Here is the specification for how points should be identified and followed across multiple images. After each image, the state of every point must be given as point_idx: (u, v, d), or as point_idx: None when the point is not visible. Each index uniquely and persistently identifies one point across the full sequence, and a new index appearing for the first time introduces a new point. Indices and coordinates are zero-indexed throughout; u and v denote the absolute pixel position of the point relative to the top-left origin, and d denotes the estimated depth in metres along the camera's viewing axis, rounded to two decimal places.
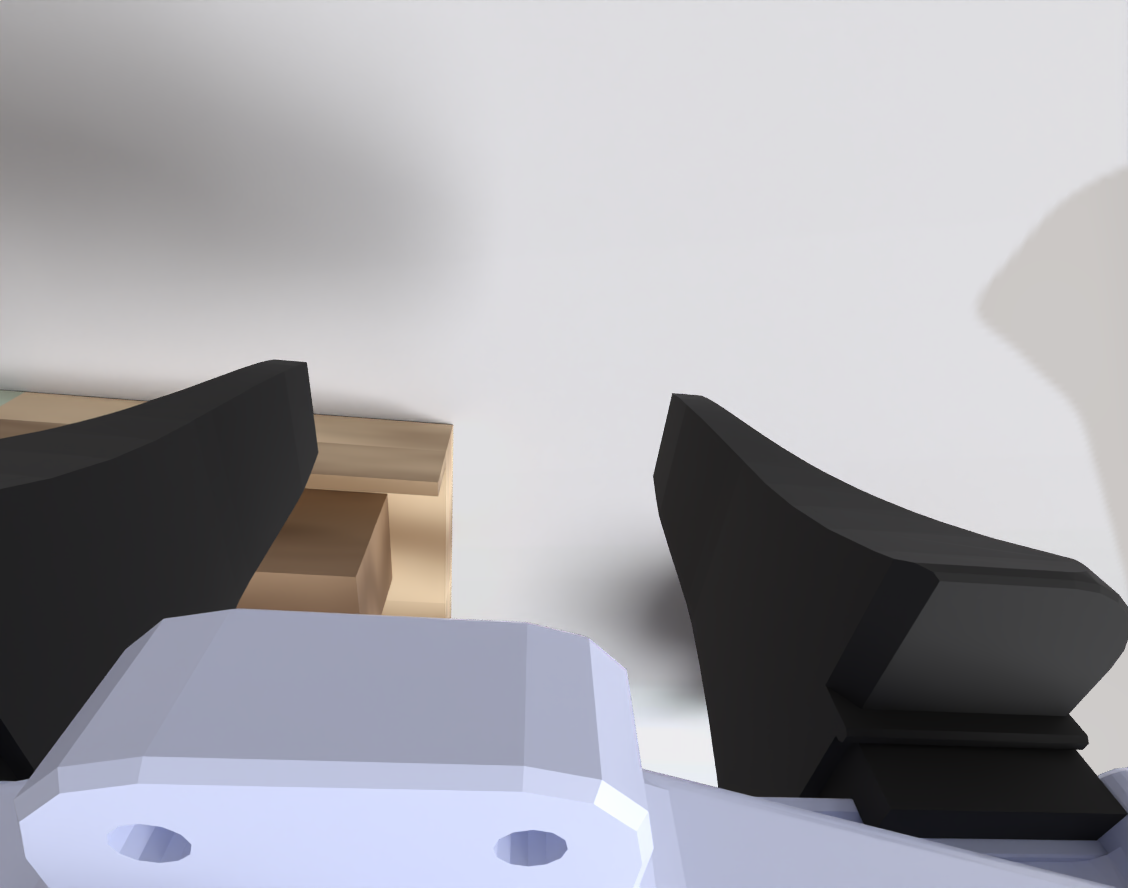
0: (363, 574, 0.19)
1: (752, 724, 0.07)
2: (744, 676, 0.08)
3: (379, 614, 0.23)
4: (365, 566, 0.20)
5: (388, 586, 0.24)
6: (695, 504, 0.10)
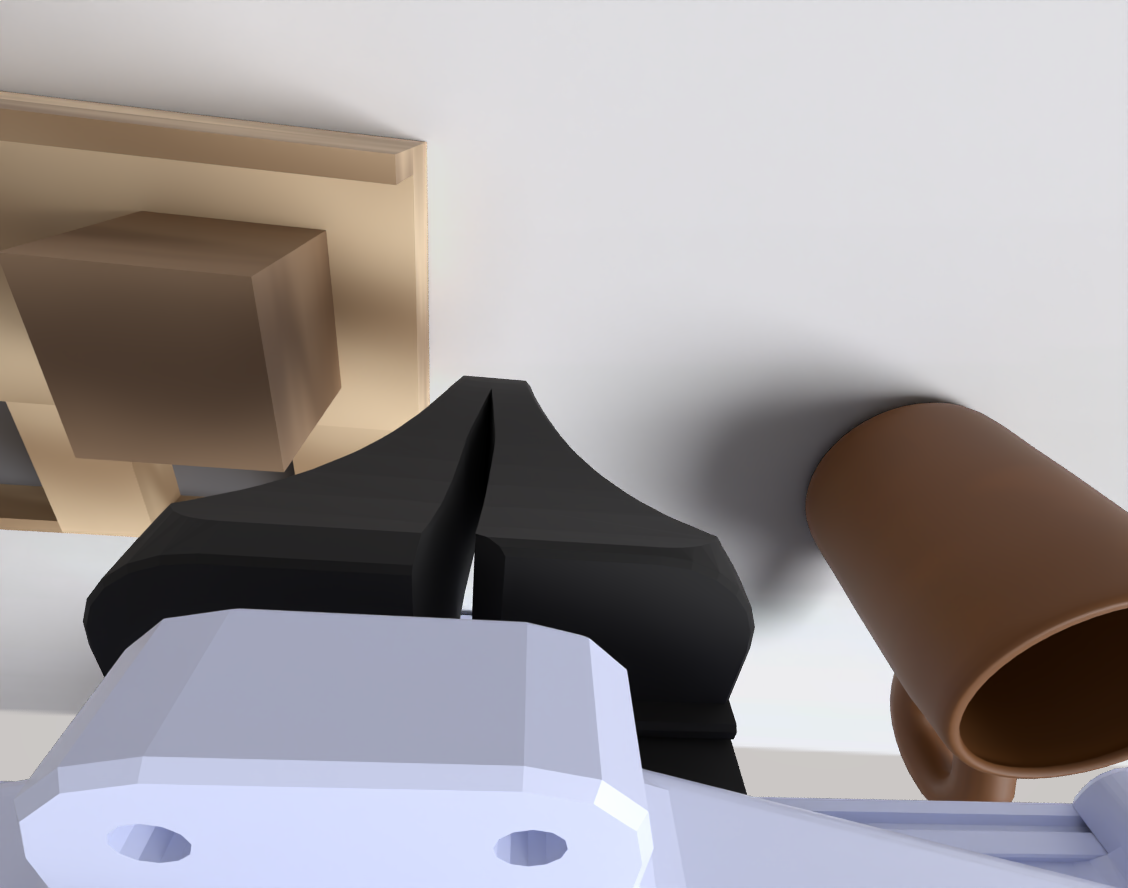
0: (272, 297, 0.12)
1: None
2: None
3: (314, 415, 0.15)
4: (277, 289, 0.12)
5: (333, 390, 0.16)
6: None
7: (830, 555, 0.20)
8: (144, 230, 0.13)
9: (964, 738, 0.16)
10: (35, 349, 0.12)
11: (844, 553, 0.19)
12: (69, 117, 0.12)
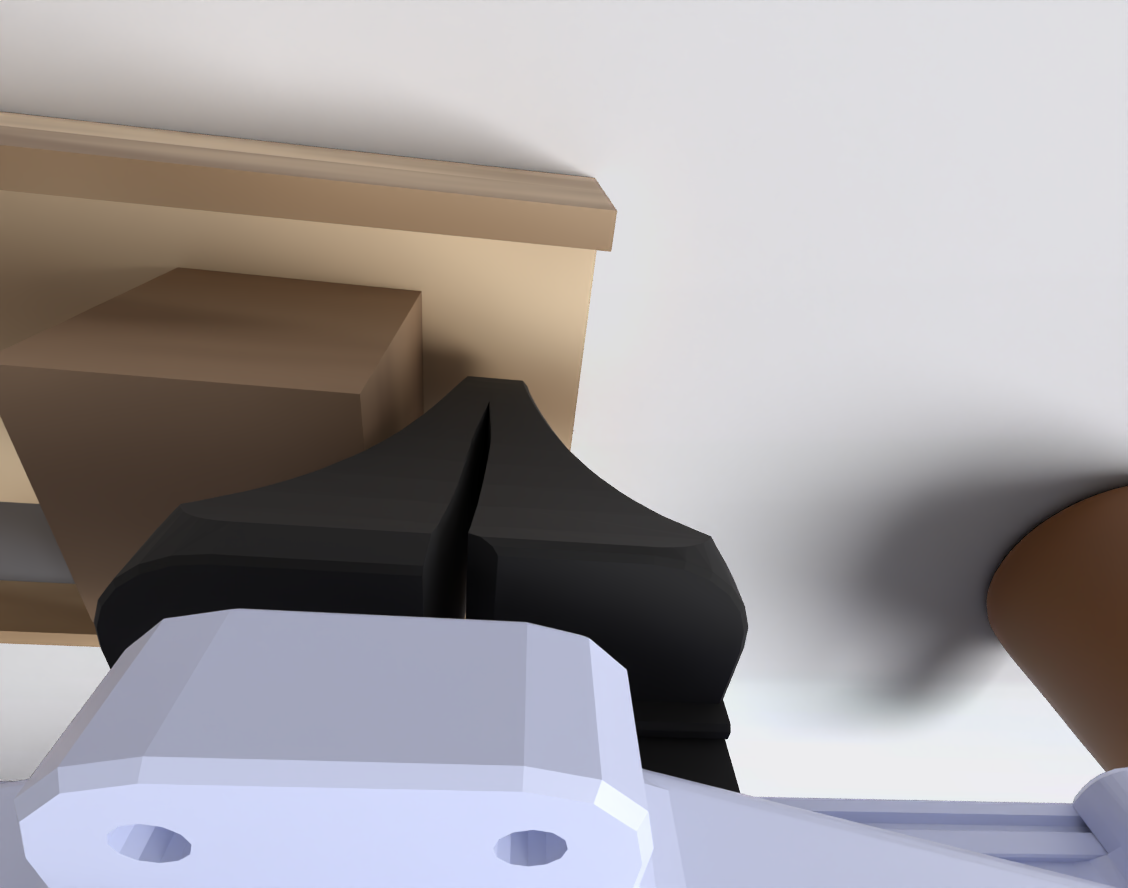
0: (377, 409, 0.08)
1: None
2: None
3: None
4: (381, 395, 0.08)
5: None
6: None
7: (1041, 667, 0.17)
8: (188, 304, 0.09)
9: None
10: (35, 491, 0.08)
11: (1075, 674, 0.15)
12: (164, 164, 0.08)
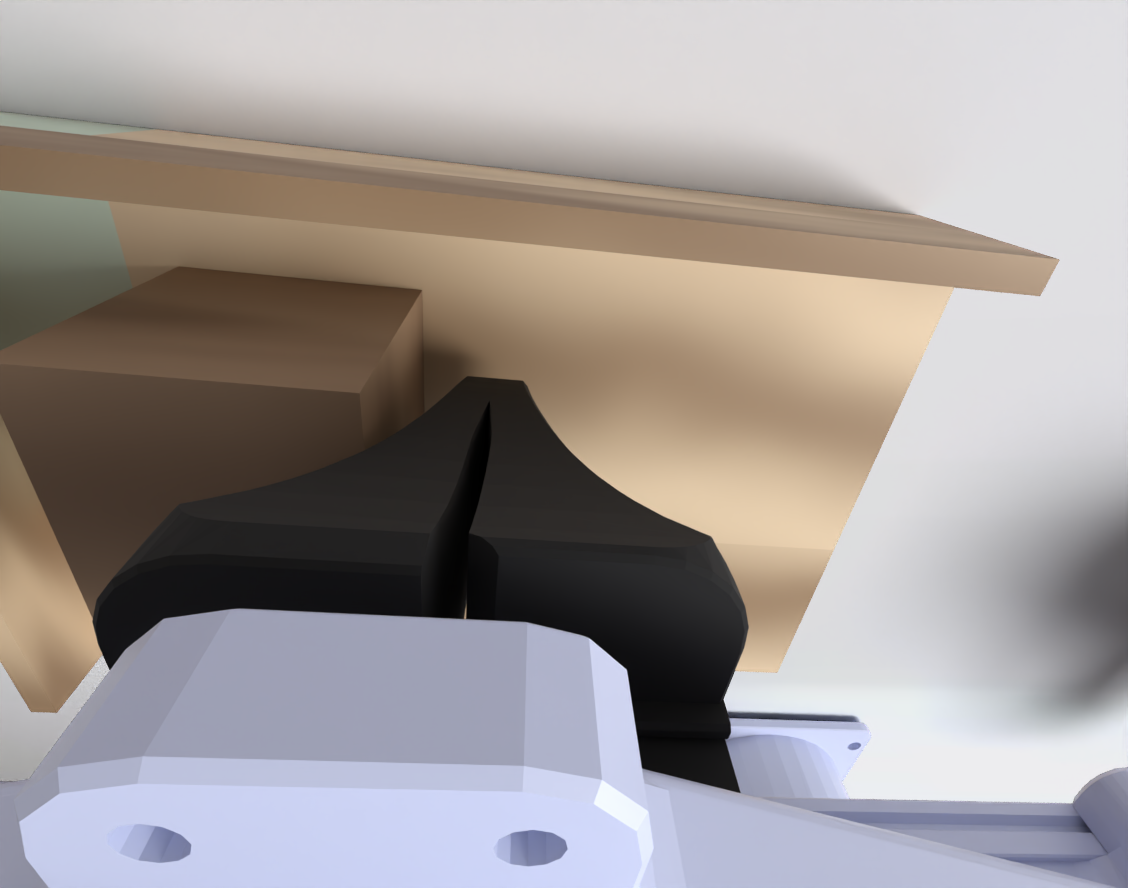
0: (377, 409, 0.08)
1: None
2: None
3: None
4: (381, 394, 0.08)
5: None
6: None
7: None
8: (188, 303, 0.09)
9: None
10: (37, 490, 0.08)
11: None
12: (668, 218, 0.09)
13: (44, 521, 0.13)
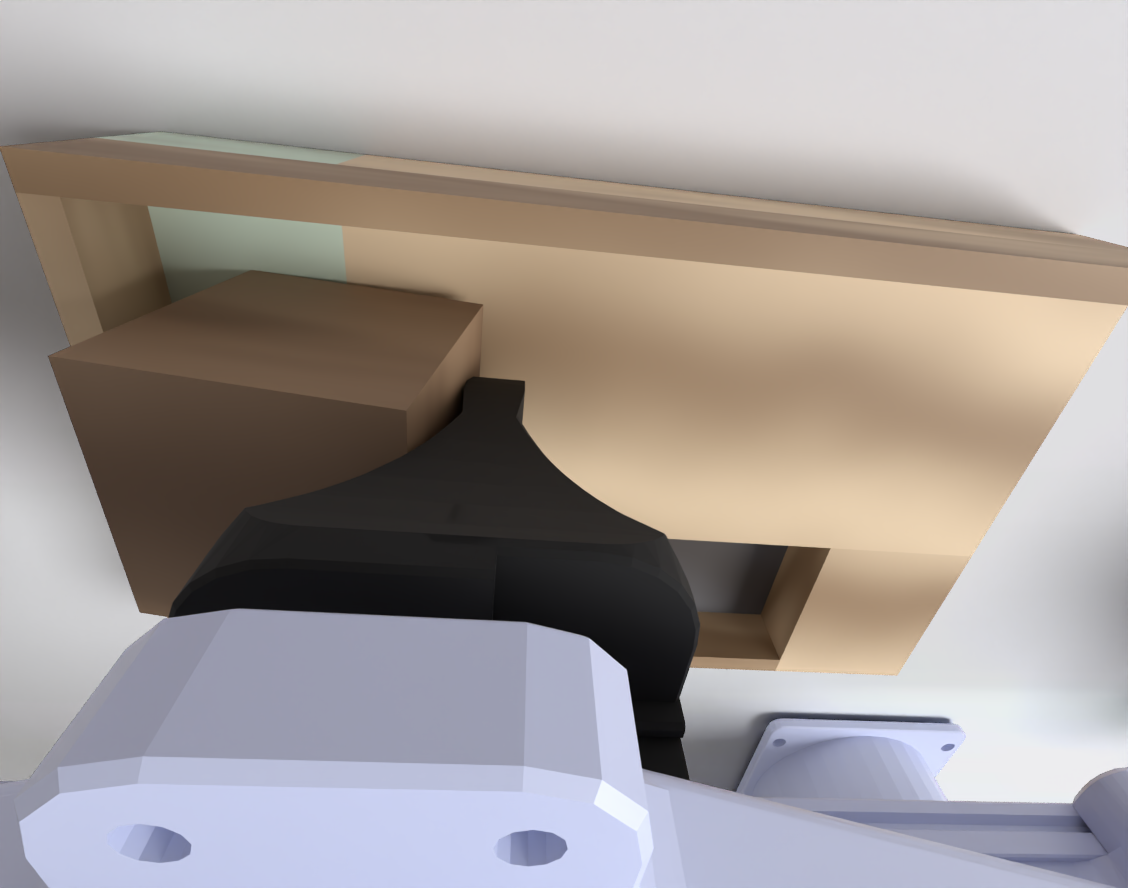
0: (425, 426, 0.08)
1: None
2: None
3: None
4: (431, 410, 0.08)
5: None
6: None
7: None
8: (254, 307, 0.09)
9: None
10: (95, 482, 0.08)
11: None
12: (909, 245, 0.09)
13: None
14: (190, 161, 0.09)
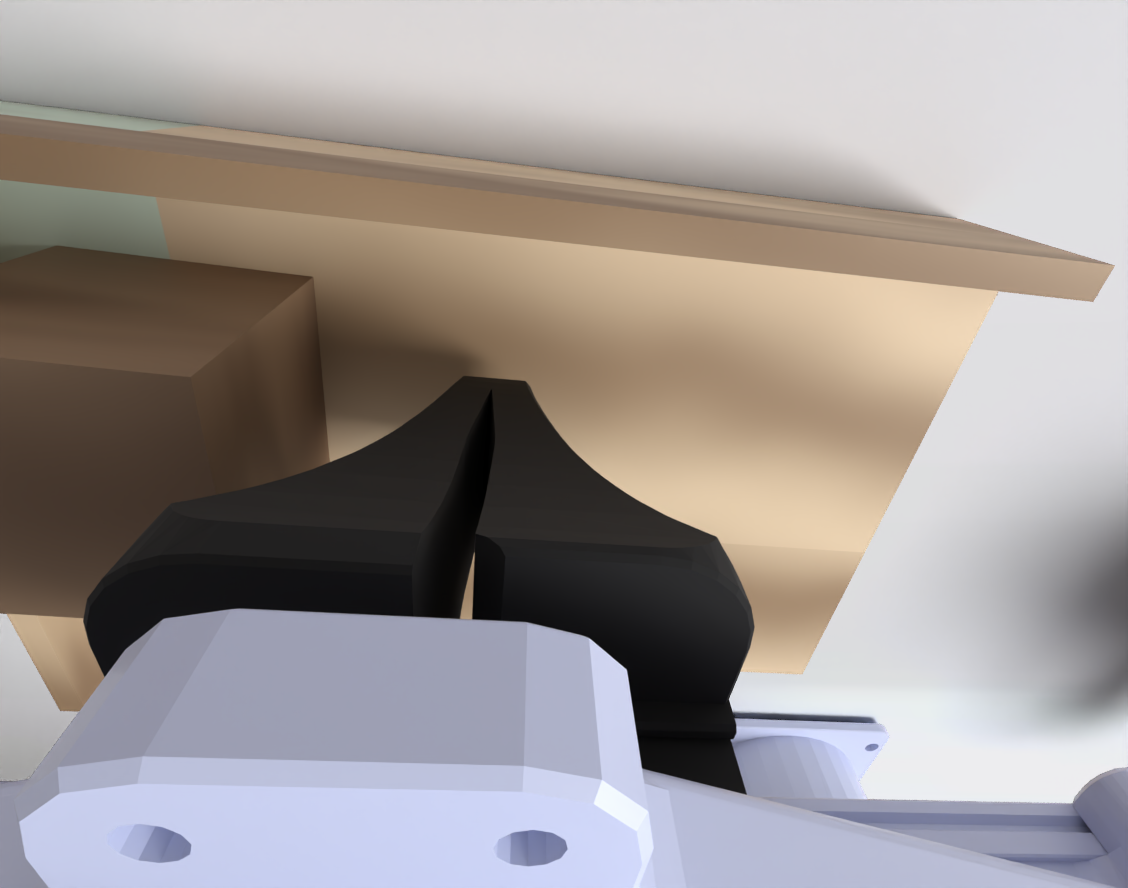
0: (228, 395, 0.08)
1: None
2: None
3: None
4: (236, 380, 0.08)
5: None
6: None
7: None
8: (47, 282, 0.09)
9: None
10: None
11: None
12: (728, 221, 0.09)
13: None
14: None
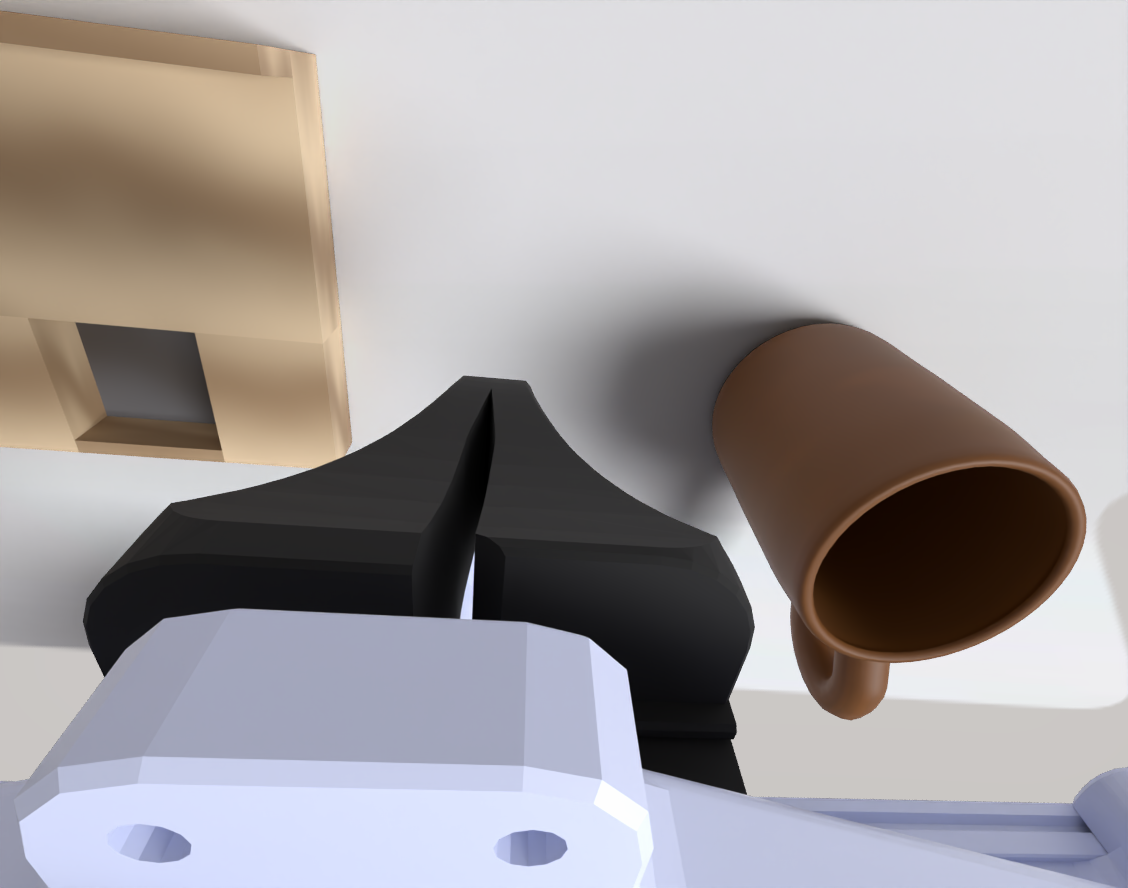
0: None
1: None
2: None
3: None
4: None
5: None
6: None
7: (727, 470, 0.21)
8: None
9: (831, 625, 0.17)
10: None
11: (734, 463, 0.20)
12: None
13: None
14: None
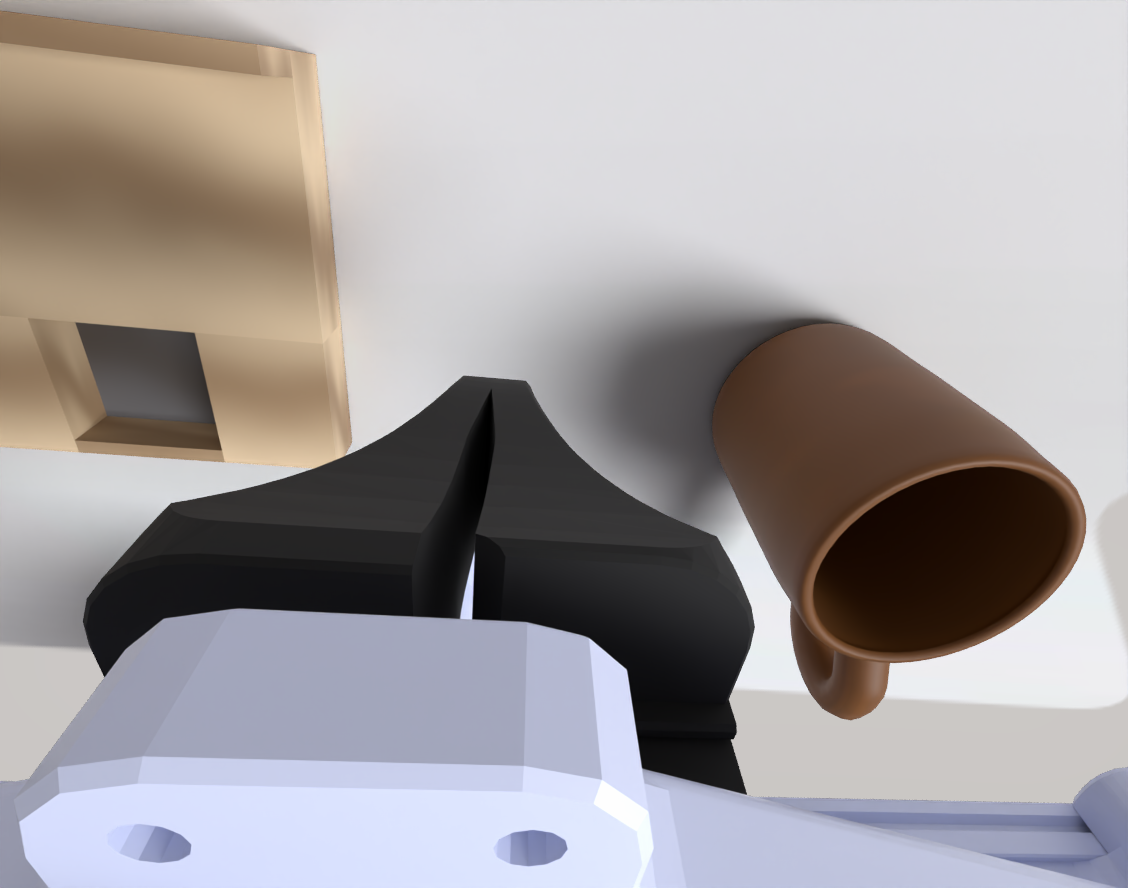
0: None
1: None
2: None
3: None
4: None
5: None
6: None
7: (727, 470, 0.21)
8: None
9: (831, 625, 0.17)
10: None
11: (734, 463, 0.20)
12: None
13: None
14: None
